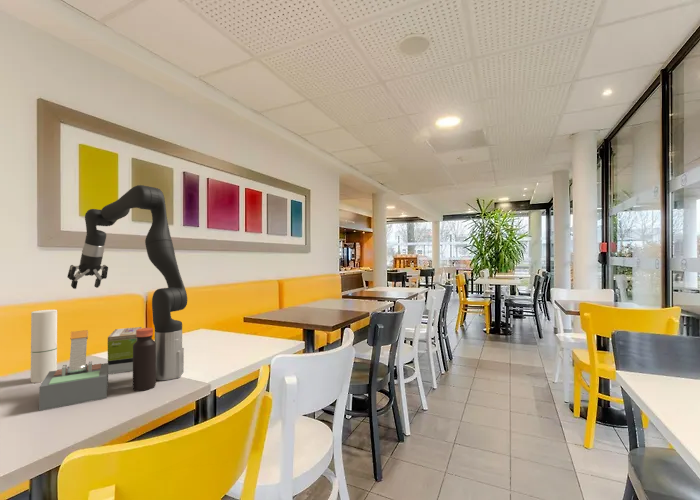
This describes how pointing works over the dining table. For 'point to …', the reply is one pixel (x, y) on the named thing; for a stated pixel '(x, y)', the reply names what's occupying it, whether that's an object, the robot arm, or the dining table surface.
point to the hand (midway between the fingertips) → (85, 287)
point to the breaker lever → (78, 352)
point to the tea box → (121, 350)
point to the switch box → (73, 386)
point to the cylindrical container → (43, 344)
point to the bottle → (144, 360)
